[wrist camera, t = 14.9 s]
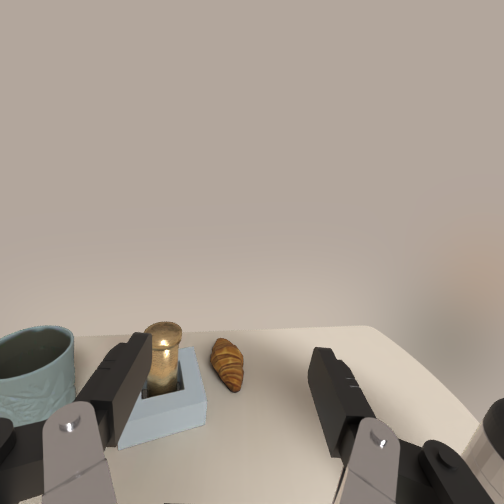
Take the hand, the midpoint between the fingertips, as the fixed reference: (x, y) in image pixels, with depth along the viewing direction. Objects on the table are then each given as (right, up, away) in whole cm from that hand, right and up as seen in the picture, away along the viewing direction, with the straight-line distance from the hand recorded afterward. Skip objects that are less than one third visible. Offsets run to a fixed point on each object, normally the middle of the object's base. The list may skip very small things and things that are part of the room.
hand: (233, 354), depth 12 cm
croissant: (-4, -19, +38) cm, 42 cm away
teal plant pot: (-31, -19, +25) cm, 44 cm away
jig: (-14, -20, +29) cm, 38 cm away
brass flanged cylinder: (-14, -20, +29) cm, 38 cm away
